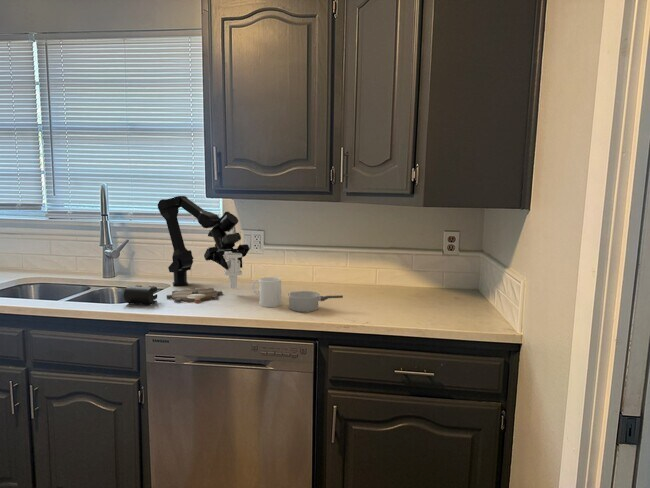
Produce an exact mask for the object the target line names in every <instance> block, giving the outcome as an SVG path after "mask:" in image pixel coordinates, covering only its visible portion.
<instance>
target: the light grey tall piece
mask: <svg viewBox="0 0 650 488" xmlns="http://www.w3.org/2000/svg"><path fill="white" fill-rule="evenodd" d="M223 256H224V259H225V261H226V263H227V265H228V268H229V269H228V270H226V269H225V270H224V273H223V274H224V275H225V276H228V277H229V285H228V287H229V288H230V289H237V288H238V276H242V275H243V270H241V268H240V260H238V258H240V257H242V254H241V253H232V252H231V251H229V252H225V254H224V255H223ZM242 258H243V257H242Z"/></svg>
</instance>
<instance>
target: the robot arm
mask: <svg viewBox="0 0 650 488" xmlns="http://www.w3.org/2000/svg"><path fill="white" fill-rule="evenodd" d="M157 203H158V204H157V208H158V211H159V214H160V216H161V217H163V219H164V220H165V223H166V226H167V230H168V233H169V237H170V241H171V244H172V249H173V252H172V262H171V264H170V265H169V266H168V268H167V270H168V272H169V273H173V282H172V286H173V287H178V286H180V287H181V286H189V282H188V275H187V274H188V273H187V272H188V271H191V270H192V266H193V264H194V260H193V259H194V256H193V252H192V250H191V249H190V250H188V249H187V248H186V246H185V242H184V239H183V235H182V231H181V228H180V227H181V226H180V224H179V220H178V216H179V209H180V208H181V209H183V210H184V211H186V212H187V213H188V214H190V215H191V216H193V217H194V218H195V219H196V220H197V223H198V224H199V225H200V226H201V227H202V228H203V229H211V230H209V232H208V234H207V237H211V238H213V241H214V243H215V244H214V246H209V247H207V248H206V250H205V252H204V255H203V257H204V260H205V261H212V262H215V263H217V264H218V265H220V266H221V267H222V268H223V269H225V271H226V270H228V269H229V268H228V265H227V263H226V261H225V257H224V254H225V252H229V251H231V252H232V253H241V254H242V257H240V258H238V260H240V269H242V268H243V258H244V257H246V256H247V254H249V251H250V249H251V248H250V246H249V244H246V243H245V244H239V245H238V246H237V248H234V247H235V246H236V243H238V242H239V241H241V240H242V236H241V233H240V232H234V233H229V232H231V231H232V230H233V229H234V228H235V227H236V225H238V223H239V219H238V217H237V216H236V215H234V214H232V213H231V212H230V211H225V212H224V213H223V215H222V216H221V217H219V216H218V215H217V214H216V213H213V212H211V211H207V210H204V209H203V207H200V206H199V205H197V204H196V203H194V202H193V201H192V200H190V199H189V198H188V197H187V196H185V195H176V196H174V197H171V198H166V199H163V198H162V199H160V200H159V201H158V202H157Z"/></svg>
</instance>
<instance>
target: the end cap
mask: <svg viewBox="0 0 650 488" xmlns="http://www.w3.org/2000/svg"><path fill="white" fill-rule="evenodd" d="M157 292H158V288H157V286H154V285H153V286H152V285H149V286H142V285H134V286H133V285H131V286H130V285H129V286H126V287H125V288H124V290H123V299H124V302H126V303H127V304H130V303H134V304H133V305H146V304H147V305H146V306H148V305H151V304H152V305H154V304H156V303H158V301H157V299H158V294H154V293H157ZM130 305H131V304H130ZM152 305H151V306H152Z"/></svg>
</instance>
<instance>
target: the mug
mask: <svg viewBox="0 0 650 488" xmlns="http://www.w3.org/2000/svg"><path fill="white" fill-rule="evenodd" d="M256 284H258V285H259V292H258V290H257V289H256V287H255V285H256ZM250 287H251V289H252V290H253V291H252V292H253V293H254V294H255V295H257V296H259V306H260V307H263V308H277V307H280V306H281V305H282V279H281V278H280V277H277V276H276V277H275V276H273V277H272V276H267V277H261V278H260V279H259V280H253V281H252V283H251V285H250Z"/></svg>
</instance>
